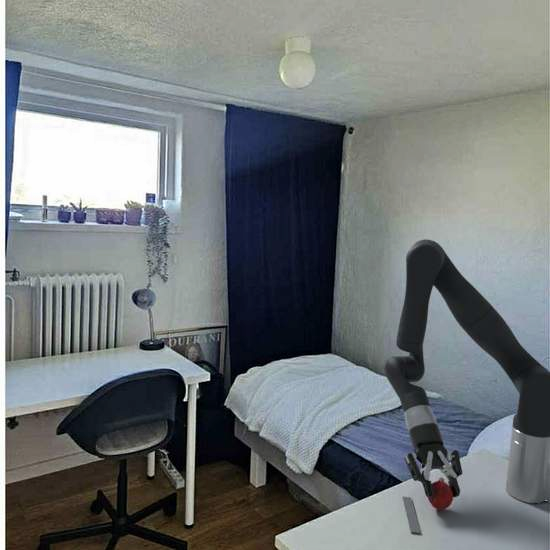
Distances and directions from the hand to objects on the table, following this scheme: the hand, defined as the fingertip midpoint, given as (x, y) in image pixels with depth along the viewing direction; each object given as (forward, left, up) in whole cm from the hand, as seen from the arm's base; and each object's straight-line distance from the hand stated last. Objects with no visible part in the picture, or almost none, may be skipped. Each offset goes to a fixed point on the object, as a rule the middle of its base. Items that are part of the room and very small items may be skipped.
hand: (444, 497), depth 115 cm
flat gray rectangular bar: (+8, +2, -4) cm, 9 cm away
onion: (+1, -2, -4) cm, 5 cm away
